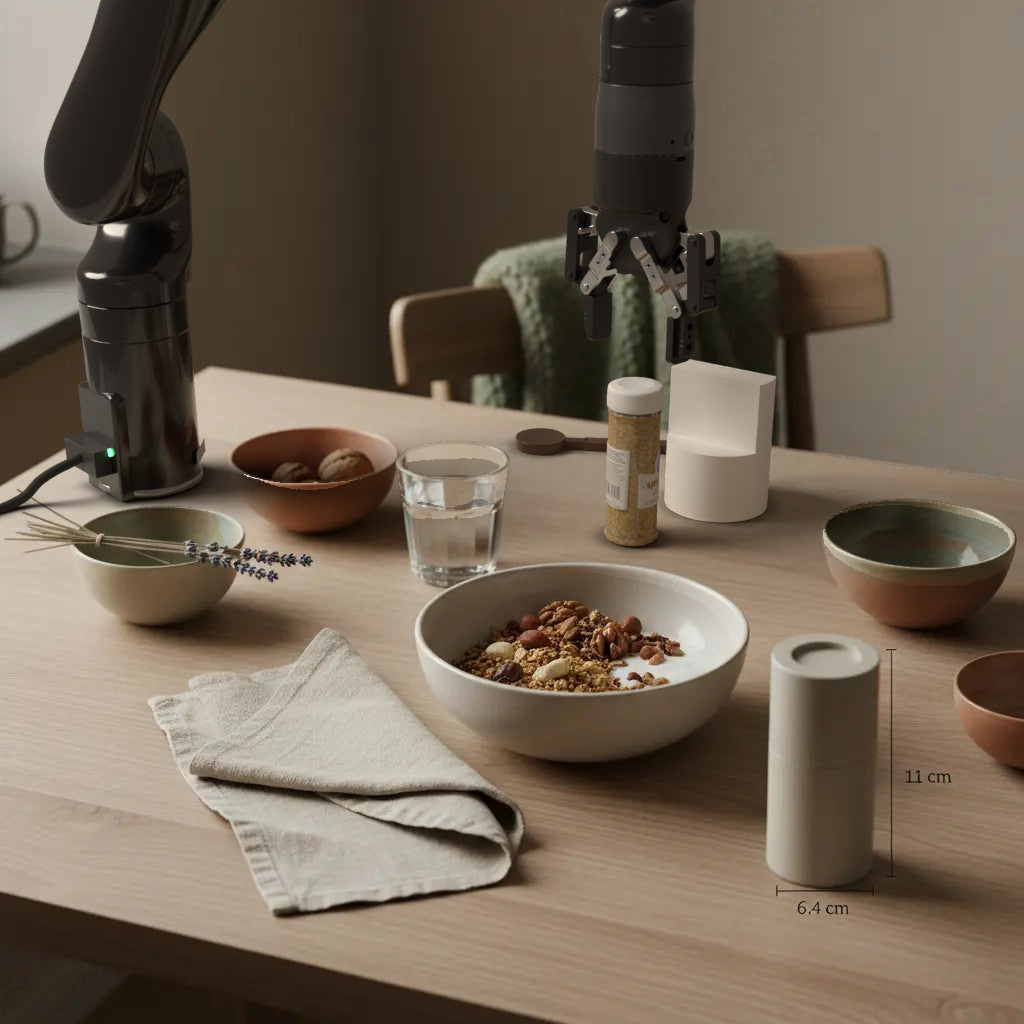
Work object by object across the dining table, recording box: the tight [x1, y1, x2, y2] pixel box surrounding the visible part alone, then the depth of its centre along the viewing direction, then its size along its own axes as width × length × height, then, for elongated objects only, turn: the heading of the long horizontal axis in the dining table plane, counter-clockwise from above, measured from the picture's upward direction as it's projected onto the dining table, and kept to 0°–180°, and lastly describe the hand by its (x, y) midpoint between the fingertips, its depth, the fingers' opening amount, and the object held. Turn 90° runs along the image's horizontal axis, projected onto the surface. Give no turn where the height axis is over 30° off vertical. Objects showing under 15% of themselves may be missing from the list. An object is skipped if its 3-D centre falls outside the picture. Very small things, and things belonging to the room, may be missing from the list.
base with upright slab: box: [663, 358, 777, 524], centre depth 131 cm, size 9×9×12 cm
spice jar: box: [603, 376, 665, 547], centre depth 123 cm, size 5×5×14 cm
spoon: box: [515, 427, 667, 456], centre depth 145 cm, size 18×5×1 cm, turn 85°
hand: (637, 350), depth 120 cm, fingers open, 8 cm apart
